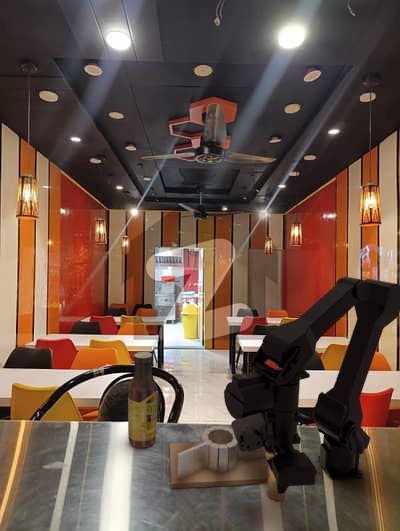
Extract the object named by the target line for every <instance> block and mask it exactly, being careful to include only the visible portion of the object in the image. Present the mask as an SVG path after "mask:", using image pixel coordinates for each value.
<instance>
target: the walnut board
mask: <svg viewBox="0 0 400 531" xmlns="http://www.w3.org/2000/svg"><path fill="white" fill-rule="evenodd" d="M199 444H202V441H195V442H194V441H193V442H170V443H169V458H170V460H169V461H170V462H169V464H170V465H169V466H170V488H171V490H173V489H191V488H205V487H206V488H207V487H223V486H224V487H225V486H226V487H227V486H243V485H258V484H259V485H262V484H267V479H268V462H267V460H266V458H264V459H244V460H239V463H238V465H237V466H236V467H235V469H233V470H231V471H229V472H228V471H227V472H215V471H212V470H209V469H207V468H204V469H202V470H200V471H198V472H196V473H194V474H192V475H190V476H188V477H186V478H184V479H182V480H179V479H178V453H181V452H183V451H185V450H188V449H190V448H192V447H195V446H197V445H199Z"/></svg>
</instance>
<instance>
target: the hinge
mask: <svg viewBox="0 0 400 531" xmlns="http://www.w3.org/2000/svg"><path fill="white" fill-rule="evenodd" d="M201 442H202V444H199V445H197V446H195V447H192V448H190V449H188V450H185V451H183V452H181V453H178V479H179V480H182V479H184V478H186V477H188V476H190V475H192V474H194V473H196V472H198V471H200V470H202V469H204V468H207V469H209V470H212V471H215V472H227V471H228V472H229V471H231V470H233V469H235V467H236V466H237V465H238V463H239V460H244V459H264V458H266V450H265V448H264V447H263V446H262V447H261V448H259V449H257V450H254V451H252V452H247V451H241V450H240V449H239V446H238V443H237V440H236V438H235V435H234V432H233V429H232V427H228V426H222V425H216V426H215V425H214V426H211V427H208V428H206V429H204V431H203V432H202V434H201Z"/></svg>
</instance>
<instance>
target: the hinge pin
mask: <svg viewBox="0 0 400 531" xmlns="http://www.w3.org/2000/svg"><path fill="white" fill-rule="evenodd" d="M275 456H276V454H275V452H274V449H273V447H270V448H268V449H267V450H266V460H270V459H272V458H274V457H275ZM287 490H288V489H287ZM287 490H286V491H285V493H283V494H278V492H277V486H276V479H275V477H274V474H273V472H272V471H271V469H270V467H269V464H268V479H267V483H266V497H267V498H268V499H269V500H270V501H271V502H274V503H278V504H280V503H283V502H285V501H286V500H287V492H288V491H287Z"/></svg>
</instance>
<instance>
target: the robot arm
mask: <svg viewBox="0 0 400 531" xmlns="http://www.w3.org/2000/svg"><path fill="white" fill-rule="evenodd" d="M353 308H354V311H355V314H356V315H355V316H356V322H355V325H354V327H353V330H352V334H351V336H350V339H349V342H348V345H347V348H346V350H345V353H344V356H343V358H342V361H341V362H342V363H341V365H340V366H339V371H338V372H337V377H336V380H335V382H334V385H333V387H332V388H330V389H329V390H328V391H326V392H323V391H321V392H319V394H318V396H317V400H316V403H315V406H314V407H313V409H312V411H313V414H312V415H313V416H312V420H314V425H315V426H316V430H317V432H319V433H320V434H322V435H323V439H322V440H323V441H322V443H320V448H319V450H320V451H319V455H318V456H317V459H318V461H319V463H320V464H321V466H322V467H323V469H324V470H325V472H326V473H327V474H328V476H329V478H330V479H331V480H349V479H362V478H363V477H364V476H363V473H362V471H361V470H360V469H359V466H360V465H359V464H360V455H362V454H364V451H365V450H367V449H368V447H369V445H370V441H371V436H370V435H369V434H368V433H367V432H366V431H365V430H364V429H363V428H362V422H363V418H364V412H363V408H362V404H361V400H360V398H361V394H362V392H363V390H364V386H365V382H366V380H367V377H368V374H369V371H370V369H371V365H372V363H373V359H374V357H375V355H376V351H377V349H378V345H379V342H380V340H381V337H382V334H383V331H384V330H385V328H386V327H387V326H388V325H390V324H391V323H392V322H394V321H395V320H396V319H397V318H398V317H399V314H400V284H399V283H395V282H390V281H383V280H379V279H378V280H377V279H373V278H366V279H365V280H364V279H362V278H361V279H360V278H356V277H351V276H350V277H349V276H342V277H340V278H338V279H337V280H336V283H335V285H334V286H333V287H332V288H330V289H329V290H328V291H327V292H326V293H325V294H323V296H321V297H320V298H319V299H318V300H317V301H316V302H315V303H314V304H313V305H312V306H310V307H309V308H308V309H307V310H306V311H305V312H303V313H302V315H300V316H299V317H298V318H295V320H293V321H289V322H288V321H287V322H285V323H282V324H280V325H278V326H277V327H275V328H273V329H272V330H270V331H269V332H267V333H266V334H265V336H264V337H263V339H262V340H261V341H262V342H261V345H260V346H259V348H258V349H257V351H256V352H255V354H254V356H253V357H252V359H251V361H250V362H249V364H248V368H249V369H251V370H252V372H251V371H250V372H247V373H236V374H233V375H232V376H231V381H230V382H228V383H227V384H226V386H225V389H223V400H224V404H225V407H226V410H227V412H228V413H229V415H230V416H231V418H233V419H234V420H232V421H231V424H230V425H231V429H233V432H234V435H235V438H236V440H237V443H238V446H239V449H240V450H241V451H247V452H252V451H254V450H257V449H259V448H261V447H262V446H263V447H264V448H265V450H267V449H268V448H270V447H273V449H274V452H275V454H276V456H275V457H274V458H272V459H270V460H267V462H268V464H269V467H270V469H271V471H272V472H273V474H274V477H275V479H276V486H277V492H278V494H283V493H285V491H286V490H288V489H289V487H300V486H301V487H303V486H315V485H316V483H317V480H318V479H317V477H318V470H317V469H316V467H315V466H314V464H313V462H312V460H311V459H310V456H308V455H307V454H306V453H305V452H301V451H300V450H299V449H297V448H294V445H300V444H301V439H302V438H301V437H300V435H299V434H298V423H299V422H300V423H301V422H302V421H303V415H302V414H301V412H300V411H299V404H300V384H301V380H305V379H309V378H310V377H311V374H310V373H309V372H308V371H307V370H306V369H305V367H306V365H307V364H308V362H309V361H310V360H311V359H312V357H313V356H314V355H315V354H316V349H317V343H318V342H319V340H320V339H321V338H322V337H323V336H324V335H325V334H326V333H328V331H329V330H330V329H331V328H333V327H334V326H335V325H336V323H338V322H339V321H340V320H341V319H342V318H343V317H344V316H345V315H346V314H348V313H349V311H350V310H352V309H353ZM267 361H268V362H270V363H272V364H274V365H275V366H277V367H278V368H274V367H272V366H270V365H268V363H266V362H267Z"/></svg>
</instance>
